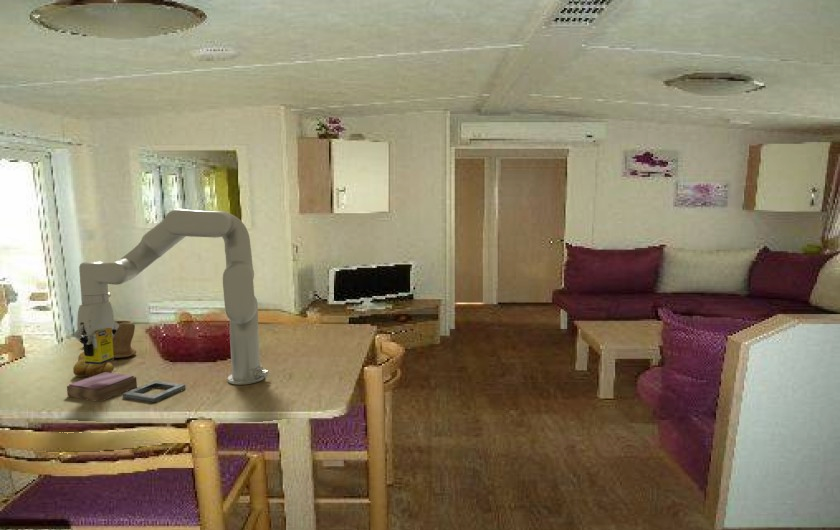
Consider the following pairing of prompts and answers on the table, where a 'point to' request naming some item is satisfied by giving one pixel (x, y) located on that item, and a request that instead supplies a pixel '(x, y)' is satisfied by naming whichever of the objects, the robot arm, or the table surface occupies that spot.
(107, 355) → the supplement box
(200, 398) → the table surface
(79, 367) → the bread roll
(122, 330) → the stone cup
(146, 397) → the frame
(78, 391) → the pedestal
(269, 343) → the table surface
